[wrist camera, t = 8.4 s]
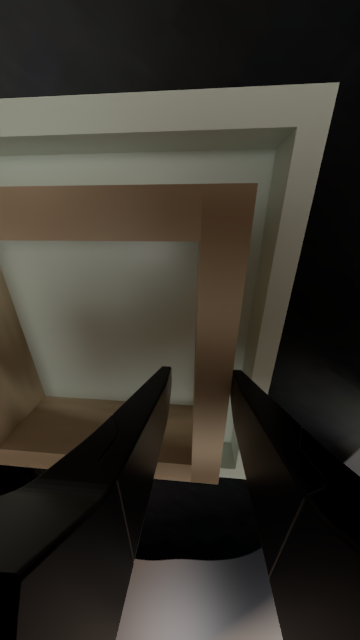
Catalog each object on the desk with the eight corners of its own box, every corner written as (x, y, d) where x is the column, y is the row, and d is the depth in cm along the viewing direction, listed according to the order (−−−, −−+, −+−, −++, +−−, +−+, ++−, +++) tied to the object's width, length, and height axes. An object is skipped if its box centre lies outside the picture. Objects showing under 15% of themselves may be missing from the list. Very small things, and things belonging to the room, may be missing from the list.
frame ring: (212, 421, 15) (218, 484, 11) (32, 409, 16) (-18, 463, 12) (233, 202, 9) (258, 182, 6) (-50, 204, 10) (-188, 189, 6)
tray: (241, 444, 16) (248, 479, 14) (10, 427, 18) (-17, 456, 16) (300, 123, 8) (339, 82, 6) (-129, 138, 10) (-228, 109, 7)
